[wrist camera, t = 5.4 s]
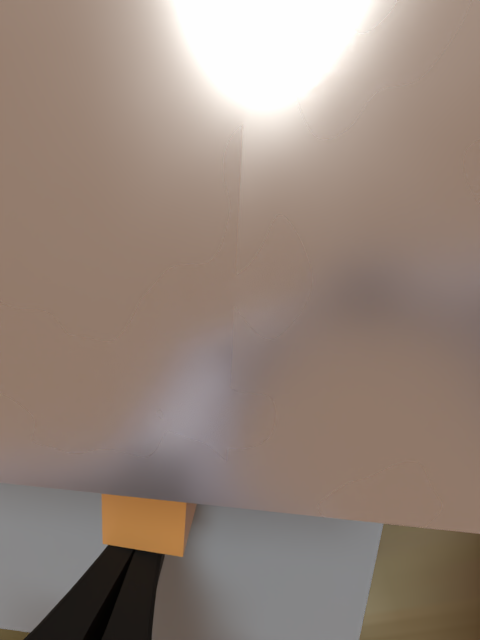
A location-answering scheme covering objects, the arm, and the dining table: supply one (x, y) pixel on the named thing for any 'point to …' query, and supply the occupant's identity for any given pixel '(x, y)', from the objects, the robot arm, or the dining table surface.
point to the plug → (146, 523)
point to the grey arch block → (244, 254)
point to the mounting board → (196, 568)
